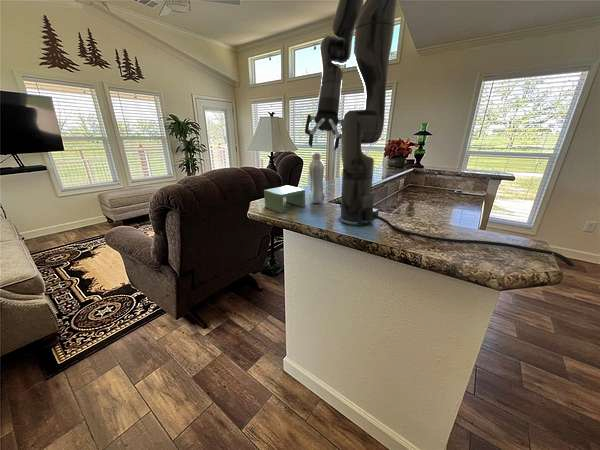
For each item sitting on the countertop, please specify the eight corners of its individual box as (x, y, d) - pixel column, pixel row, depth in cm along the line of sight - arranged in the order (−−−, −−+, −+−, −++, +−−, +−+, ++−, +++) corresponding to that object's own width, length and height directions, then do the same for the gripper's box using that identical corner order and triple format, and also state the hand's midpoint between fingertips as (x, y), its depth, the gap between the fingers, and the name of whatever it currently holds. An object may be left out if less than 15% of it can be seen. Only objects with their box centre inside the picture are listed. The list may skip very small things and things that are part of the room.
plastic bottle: (326, 201, 100) (327, 152, 93) (321, 205, 95) (321, 154, 87) (312, 199, 103) (312, 152, 95) (306, 204, 97) (305, 153, 90)
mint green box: (305, 206, 94) (304, 189, 92) (281, 213, 87) (280, 194, 84) (288, 201, 102) (287, 185, 99) (265, 207, 95) (263, 190, 92)
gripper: (309, 93, 78) (303, 143, 80) (351, 98, 78) (344, 148, 79) (308, 102, 85) (303, 148, 87) (347, 107, 85) (341, 152, 87)
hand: (323, 148), depth 83 cm, fingers open, 8 cm apart
